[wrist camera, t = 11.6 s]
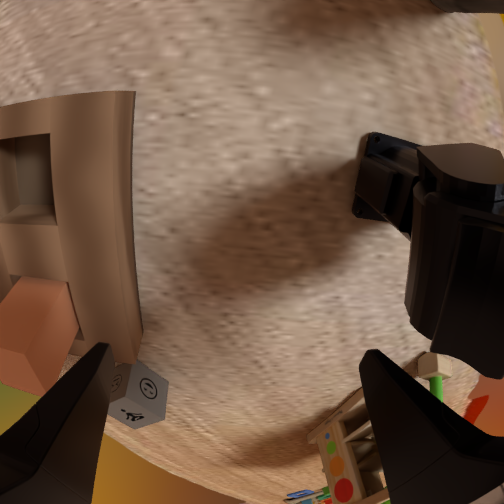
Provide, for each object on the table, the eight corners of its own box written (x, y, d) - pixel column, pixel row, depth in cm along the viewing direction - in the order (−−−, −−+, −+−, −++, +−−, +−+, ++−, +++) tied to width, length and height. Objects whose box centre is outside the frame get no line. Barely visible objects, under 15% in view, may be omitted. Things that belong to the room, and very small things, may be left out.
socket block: (135, 91, 16) (115, 90, 12) (143, 331, 25) (135, 364, 22) (-16, 112, 14) (-47, 120, 10) (22, 313, 23) (6, 339, 20)
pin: (80, 262, 21) (24, 354, 12) (89, 306, 23) (50, 398, 14) (36, 258, 20) (-25, 339, 12) (48, 300, 22) (2, 383, 14)
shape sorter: (348, 494, 76) (350, 504, 72) (297, 507, 77) (299, 517, 73) (343, 477, 59) (347, 491, 55) (275, 494, 61) (277, 507, 57)
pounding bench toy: (405, 338, 30) (474, 467, 14) (460, 351, 34) (515, 442, 18) (304, 436, 39) (326, 536, 24) (368, 435, 43) (394, 516, 28)
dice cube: (140, 394, 31) (134, 429, 26) (107, 372, 28) (97, 408, 24) (168, 381, 29) (164, 419, 25) (134, 356, 27) (125, 396, 23)
